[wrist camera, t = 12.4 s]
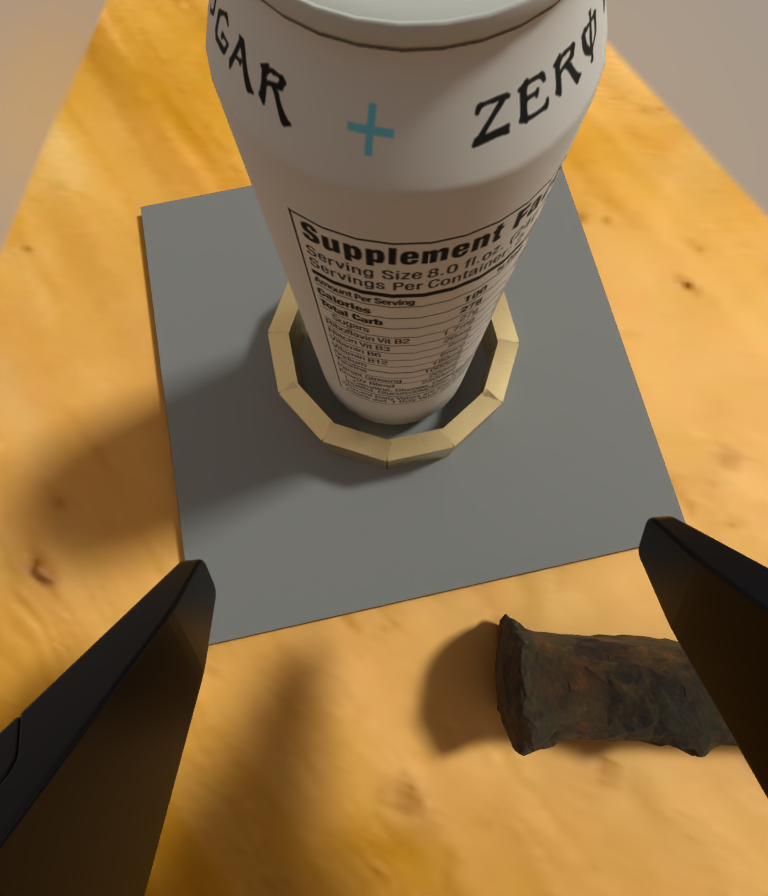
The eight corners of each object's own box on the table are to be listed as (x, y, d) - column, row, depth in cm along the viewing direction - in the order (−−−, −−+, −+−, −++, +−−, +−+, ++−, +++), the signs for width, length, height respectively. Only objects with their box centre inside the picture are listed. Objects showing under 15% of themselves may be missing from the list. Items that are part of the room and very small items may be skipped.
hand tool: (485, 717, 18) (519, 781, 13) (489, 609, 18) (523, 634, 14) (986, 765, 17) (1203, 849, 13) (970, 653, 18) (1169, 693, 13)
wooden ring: (528, 439, 19) (544, 427, 17) (304, 487, 19) (294, 481, 17) (471, 241, 21) (479, 210, 19) (266, 282, 21) (253, 255, 19)
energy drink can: (450, 292, 21) (608, -334, 6) (473, 420, 19) (746, 37, 5) (317, 309, 20) (139, -288, 6) (332, 439, 19) (155, 106, 5)
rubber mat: (683, 535, 19) (689, 535, 18) (199, 645, 18) (195, 647, 18) (545, 135, 23) (548, 128, 22) (145, 213, 22) (140, 207, 22)
